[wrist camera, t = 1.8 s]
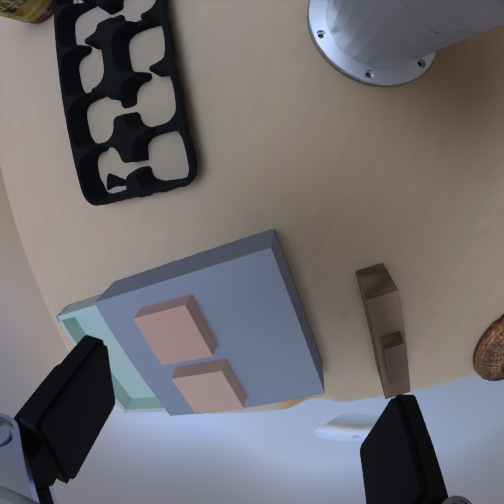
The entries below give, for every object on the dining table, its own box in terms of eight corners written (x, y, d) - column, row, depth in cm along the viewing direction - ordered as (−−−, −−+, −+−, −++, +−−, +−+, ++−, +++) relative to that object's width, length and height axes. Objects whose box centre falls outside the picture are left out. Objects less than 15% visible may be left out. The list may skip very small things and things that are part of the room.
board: (273, 228, 32) (270, 247, 27) (322, 363, 38) (324, 392, 33) (114, 281, 36) (94, 302, 32) (180, 389, 42) (170, 415, 38)
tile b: (225, 357, 32) (221, 370, 31) (246, 395, 34) (244, 408, 32) (176, 366, 34) (171, 378, 32) (200, 402, 36) (196, 414, 34)
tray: (118, 288, 37) (106, 301, 34) (184, 394, 43) (178, 409, 40) (67, 305, 39) (55, 316, 36) (131, 399, 45) (124, 412, 42)
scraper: (382, 262, 32) (404, 301, 25) (398, 358, 36) (414, 403, 29) (355, 270, 33) (370, 312, 25) (376, 365, 37) (388, 411, 30)
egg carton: (113, 218, 34) (96, 229, 30) (37, 12, 24) (18, 8, 21) (260, 153, 30) (256, 157, 26) (155, -69, 20) (142, -83, 17)
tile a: (191, 293, 30) (185, 305, 28) (217, 343, 32) (213, 356, 30) (140, 307, 31) (132, 318, 29) (167, 353, 33) (161, 365, 31)
